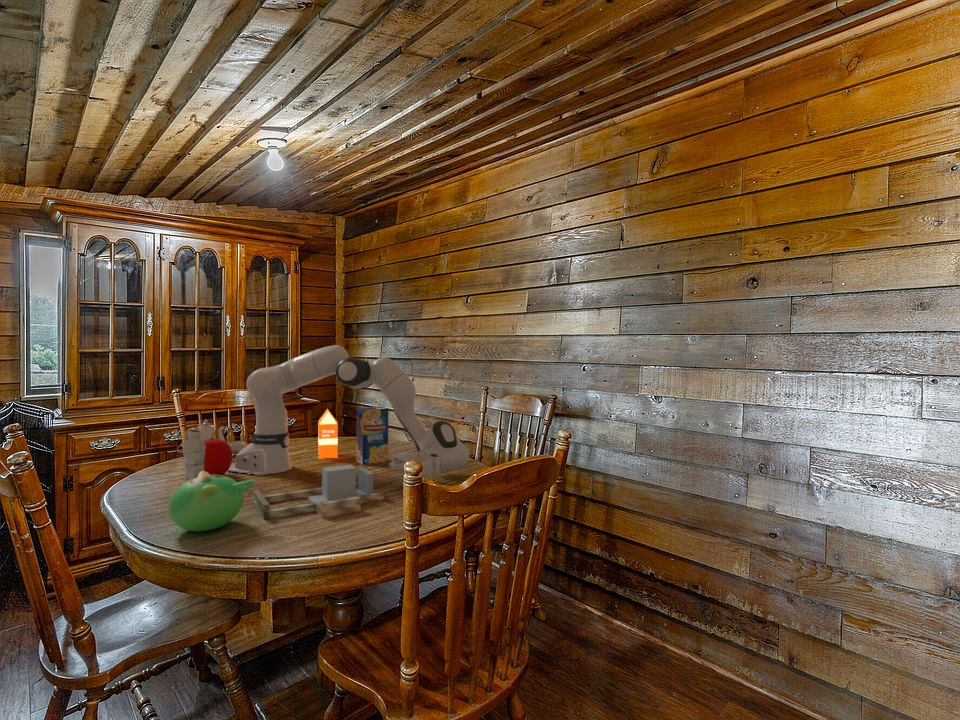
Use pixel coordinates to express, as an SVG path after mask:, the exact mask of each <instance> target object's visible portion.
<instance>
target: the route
mask: <svg viewBox="0 0 960 720" xmlns="http://www.w3.org/2000/svg"><path fill="white" fill-rule="evenodd" d="M356 489H358V481H357V482H356ZM316 495H322V486H320V487H316V488H308V489H300V490H295V491H287V492H286V491H285V492H281V493H272V494H267V495H262V493H261V492H260V491H259V489H256V490H252V505H253V507H255V509H256V510H257V512H258V513H259V515H260V516H261V518H262V519H263V521H264V520H269V519H270V520H271V519H275V518H281V517H288V516H294V515H299V514H304V513H313V512H316V513H317V514H318V515H319V516H320V517H321V518H323V519H327V518H329V517H330V518H331V517H338V516H342V514H343V515H348V513H349V514H353V513H352V512H354V513H359V511H360V512H361V504H365V503H364V502H366V503H370V502H369V501H372V502H376V501H375V500H378V501H382V500H381V499H384V500H385V492H384V491H381V492H380V491H379V492H373V493H372V494H366V495H360V496H354V497H347V498H346V499H340V500H334V501H328V502H322V503H320V502H316V503H311V502H310V503H305V504H299V505H292V506H287V507H280V508H273V509H270V508H271V507H270V504H271V502H272V503H277V502H284V501H283V500H285V501H290V499H291V500H296V498H298V499H303V497H304V498H308V497H309V496H316Z"/></svg>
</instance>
